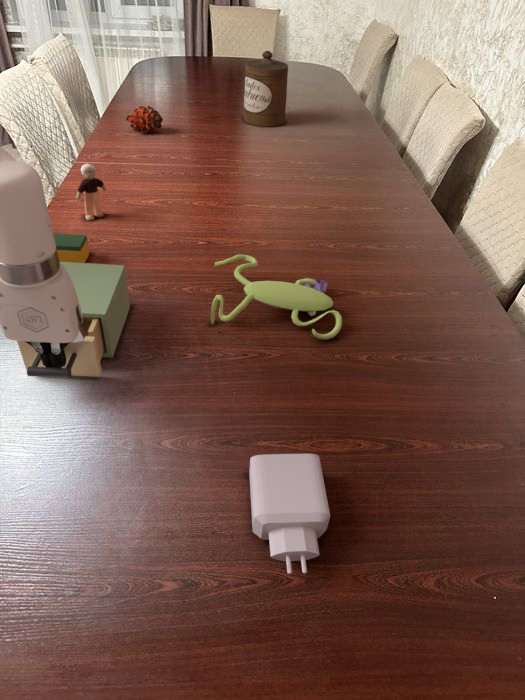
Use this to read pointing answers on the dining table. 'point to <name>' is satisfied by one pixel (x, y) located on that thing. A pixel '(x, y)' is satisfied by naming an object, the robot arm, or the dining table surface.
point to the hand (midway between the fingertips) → (56, 367)
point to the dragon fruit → (145, 119)
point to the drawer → (71, 354)
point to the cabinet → (102, 297)
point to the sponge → (71, 247)
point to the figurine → (280, 296)
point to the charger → (289, 505)
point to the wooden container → (265, 91)
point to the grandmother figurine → (90, 192)
